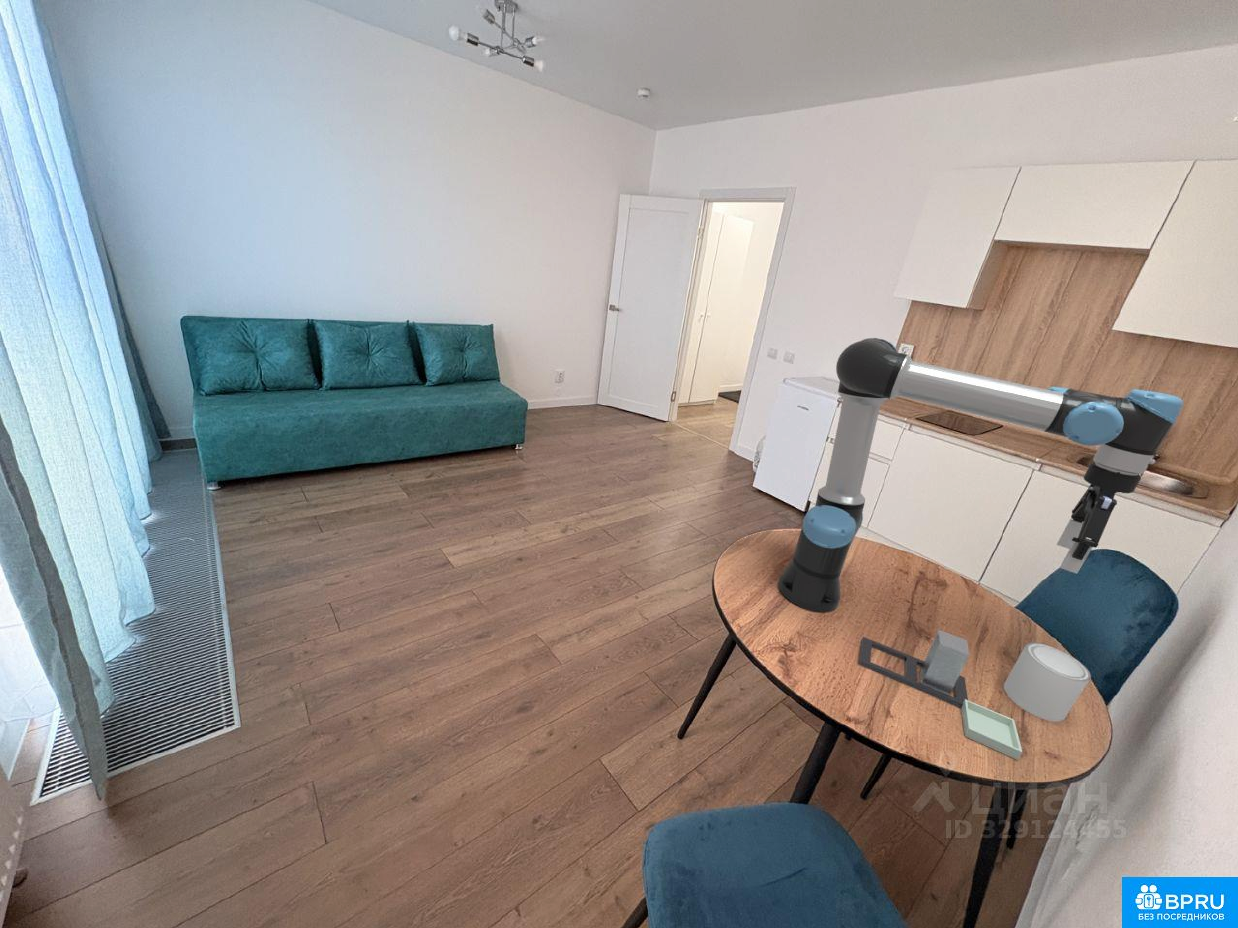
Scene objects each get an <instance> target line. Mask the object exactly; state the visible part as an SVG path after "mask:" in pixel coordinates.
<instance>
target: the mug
mask: <svg viewBox="0 0 1238 928" xmlns="http://www.w3.org/2000/svg"><path fill="white" fill-rule="evenodd" d="M1091 679H1092V676H1091V672H1090V671H1089V670H1088V668H1087V667H1086V666H1085V665H1084V664H1083V663H1082V662H1080V661H1079V660H1078V659H1077V658H1075V657H1074V656H1072V655H1071V654H1069V653H1067V652H1065V651H1064V650H1061V649H1059V648H1057V647H1055V646H1052V645H1049V644H1044V643H1041V642H1034V641H1033V642H1028V643H1027V644H1026V645H1025V646H1024V647H1023V649H1022V650H1021V653H1020V654H1019V656H1018V658H1017V660H1016V662H1015V663H1014V666H1013V667H1012V669H1011V671H1010V672H1009V674H1008V676H1007V678H1006V680H1005V681H1004V683H1003V690H1004V692H1005V693H1006V695H1007V696H1008V698H1010V700H1011V701H1012V702H1013V703H1014V704H1016V705H1017V706H1018V707H1019V708H1021V709H1022V710H1024V711H1025V712H1027V713H1029V714H1030V715H1033V716H1035V717H1037V718H1039V719H1041V720H1045V721H1047V722H1055V723H1058V722H1064V720H1065V718H1066V717H1067V716H1068V715H1069V712H1070V711H1071V710H1072V708H1073V707H1074V705H1075V704H1076V701H1077V700H1078V698H1079V697H1080V695H1081V694H1082V692H1083V691H1084V689H1085V688H1086V686H1087V685H1088V683H1089V681H1090V680H1091Z"/></svg>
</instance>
